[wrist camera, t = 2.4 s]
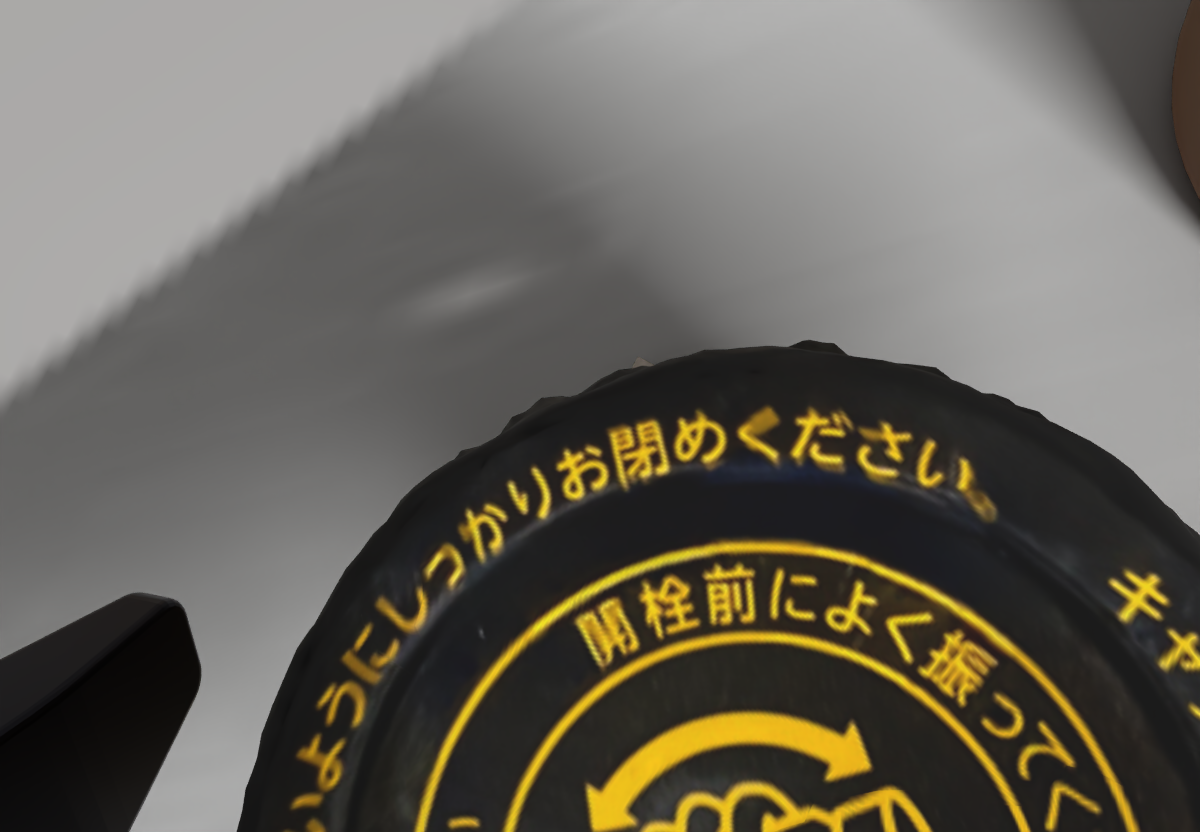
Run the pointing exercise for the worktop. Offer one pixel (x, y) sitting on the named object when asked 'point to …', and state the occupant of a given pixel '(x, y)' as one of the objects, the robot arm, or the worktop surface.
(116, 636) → the robot arm
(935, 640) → the condiment
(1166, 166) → the worktop surface
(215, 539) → the worktop surface
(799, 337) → the worktop surface
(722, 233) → the worktop surface
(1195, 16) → the mug
